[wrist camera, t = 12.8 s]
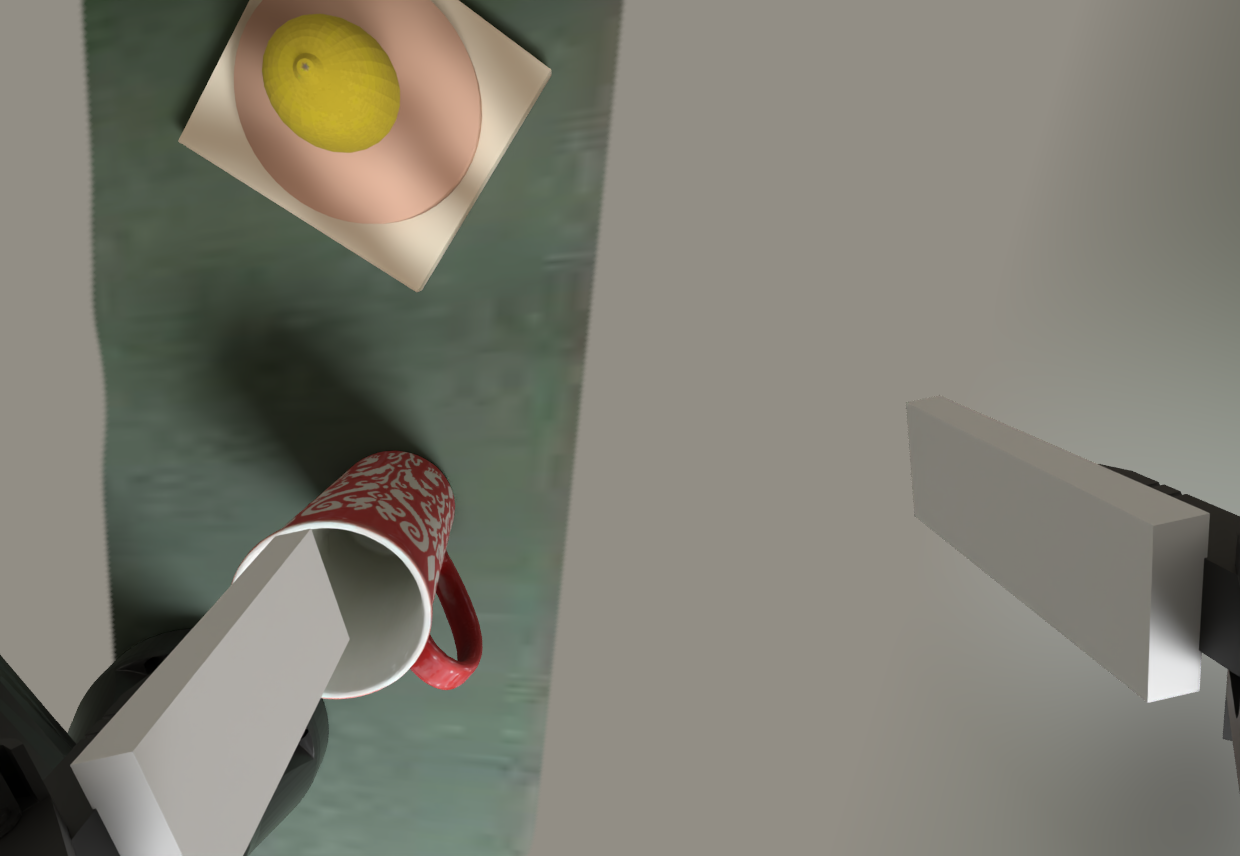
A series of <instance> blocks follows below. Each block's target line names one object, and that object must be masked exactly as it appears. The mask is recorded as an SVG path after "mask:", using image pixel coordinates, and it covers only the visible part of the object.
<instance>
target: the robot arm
mask: <svg viewBox="0 0 1240 856" xmlns="http://www.w3.org/2000/svg"><path fill="white" fill-rule="evenodd" d="M906 409H907V423H908V436H909V449H910V462H911V477H912V489H913V502H914V516H915V517H916V518H918V519H919V520H920V521H921V522H922V523H924V524H925V525H926V526H927V527H929V528H930V529H931V530H932V531H934V532H935V533H936V534H937V535H939V536H940V537H941V538H942V539H944V540H945V541H946V542H948V543H949V544H950V545H951V546H952V547H954V548H955V549H956V550H957V551H959V552H960V553H961V554H963V555H964V556H965V557H966V558H967V559H969V560H970V561H971V562H972V563H974V564H975V565H976V566H977V567H979V568H980V569H981V570H982V571H984V572H985V573H986V574H988V575H989V576H990V577H991V578H992V579H994V580H995V581H996V582H997V583H999V584H1000V585H1001V586H1002V587H1004V588H1005V589H1006V590H1008V591H1009V592H1010V593H1011V594H1013V595H1014V596H1015V597H1016V598H1017V599H1019V600H1020V601H1021V602H1022V603H1024V604H1025V605H1026V606H1027V607H1029V608H1030V609H1031V610H1032V611H1034V612H1035V613H1036V614H1037V615H1039V616H1040V617H1041V618H1042V619H1044V620H1045V621H1046V622H1047V623H1049V624H1050V625H1051V626H1052V627H1054V628H1055V629H1056V630H1057V631H1059V632H1060V633H1061V634H1062V635H1064V636H1065V637H1066V638H1067V639H1069V640H1070V641H1071V642H1072V643H1074V644H1075V645H1076V646H1077V647H1079V648H1080V649H1081V650H1082V651H1084V652H1085V653H1086V654H1087V655H1089V656H1090V657H1091V658H1092V659H1093V660H1095V661H1096V662H1097V663H1098V664H1100V665H1101V666H1102V667H1103V668H1105V669H1106V670H1107V671H1108V672H1110V673H1111V674H1112V675H1113V676H1115V677H1116V678H1117V679H1118V680H1120V681H1121V682H1122V683H1123V684H1125V685H1126V686H1127V687H1128V688H1130V689H1131V690H1132V691H1133V692H1135V693H1136V694H1137V695H1138V696H1140V697H1141V698H1142V699H1143V700H1145V701H1146V702H1153V701H1157V700H1161V699H1166V698H1170V697H1174V696H1179V695H1183V694H1188V693H1192V692H1197V691H1199V690H1200V672H1201V656H1202V653H1204V654H1205V655H1207V656H1208V657H1210V658H1212V659H1213V660H1215V661H1216V662H1218V663H1219V664H1221V665H1222V666H1224V667H1225V668H1227V669H1228V672H1227V687H1226V701H1225V714H1224V729H1223V739H1226V740H1230V741H1233V748H1234V755H1235V762H1236V769H1237V777H1238V784H1239V791H1240V516H1237V515H1235V514H1233V513H1230V512H1228V511H1226V510H1223V509H1221V508H1218V507H1216V506H1214V505H1211V504H1209V503H1207V502H1204V501H1202V500H1200V499H1197V498H1195V497H1192V496H1190V495H1188V494H1184V495H1182V494H1181V492H1180V491H1178V490H1176V489H1173V488H1171V487H1168V486H1166V485H1160V484H1159V482H1157V481H1155V480H1152V479H1150V478H1147V477H1145V476H1143V475H1140V474H1138V473H1136V472H1133V471H1129V470H1124V469H1120V468H1115V467H1110V466H1106V465H1101V464H1096V463H1093V462H1091V461H1089V460H1087V459H1084V458H1082V457H1080V456H1077V455H1075V454H1073V453H1071V452H1068V451H1066V450H1064V449H1062V448H1059V447H1057V446H1055V445H1052V444H1050V443H1048V442H1045V441H1043V440H1041V439H1039V438H1036V437H1034V436H1032V435H1029V434H1027V433H1025V432H1023V431H1020V430H1018V429H1015V428H1013V427H1011V426H1009V425H1006V424H1004V423H1002V422H1000V421H997V420H995V419H993V418H991V417H988V416H986V415H984V414H981V413H979V412H977V411H975V410H972V409H970V408H968V407H965V406H963V405H961V404H958V403H956V402H954V401H952V400H949V399H947V398H945V397H942V396H940V395H939V396H934V397H929V398H924V399H920V400H915V401H911V402H906ZM349 640H350V639H349V636H348V633H347V630H346V627H345V624H344V621H343V618H342V616H341V613H340V610H339V607H338V604H337V601H336V598H335V596H334V593H333V590H332V587H331V584H330V581H329V578H328V575H327V573H326V570H325V567H324V564H323V561H322V558H321V555H320V553H319V550H318V547H317V544H316V541H315V538H314V535H313V532H312V530H311V529H306V530H302V531H297V532H292V533H288V534H283V535H278V536H275V537H274V538H273V539H272V540H271V541H270V543H269V544H268V545H267V546H266V547H265V548H264V549H263V550H262V551H261V553H260V554H259V555H258V556H257V557H256V558H255V559H254V560H253V562H252V563H251V564H250V565H249V566H248V567H247V568H246V569H245V570H244V572H243V573H242V574H241V575H240V576H239V577H238V578H237V579H236V581H235V582H234V583H233V584H232V585H231V586H230V587H229V588H228V589H227V591H226V592H225V593H224V594H223V595H222V596H221V597H220V598H219V600H218V601H217V602H216V603H215V604H214V605H213V606H212V607H211V608H210V610H209V611H208V612H207V613H206V614H205V615H204V616H203V617H202V618H201V620H200V621H199V622H198V623H197V624H196V625H195V626H194V627H193V629H183V630H176V631H171V632H167V633H163V634H160V635H157V636H154V637H151V638H149V639H147V640H145V641H142V642H141V643H139V644H137V645H135V646H134V647H132V648H130V649H129V650H128V651H126V652H125V653H124V654H122V655H121V656H120V657H119V658H118V659H117V660H116V661H115V662H114V663H113V664H112V665H111V666H110V667H109V668H108V669H107V670H106V671H105V672H104V673H103V674H102V675H101V676H100V677H99V678H98V679H97V680H96V681H95V682H94V684H93V685H92V686H91V687H90V689H89V690H88V691H87V693H86V694H85V696H84V698H83V699H82V701H81V703H80V705H79V707H78V709H77V711H76V714H75V716H74V719H73V722H72V723H71V726H70V728H69V731H68V733H67V732H66V731H65V730H64V729H63V728H62V727H61V726H60V724H59V723H58V722H57V721H56V720H55V719H54V717H53V716H52V715H51V714H50V713H49V712H48V711H47V709H46V708H45V707H44V706H43V705H42V703H41V702H40V701H39V700H38V699H37V698H36V696H35V695H34V694H33V693H32V692H31V690H30V689H29V688H28V687H27V686H26V685H25V683H24V682H23V681H22V680H21V679H20V678H19V676H18V675H17V674H16V673H15V672H14V671H13V669H12V668H11V667H10V666H9V665H8V663H6V661H5V660H4V659H3V658H2V656H1V655H0V856H248V855H249V854H250V853H251V852H252V851H253V850H254V849H255V848H256V847H257V846H258V845H259V844H260V843H261V842H262V841H263V840H264V839H265V838H266V837H267V836H268V835H269V834H270V833H271V832H272V831H273V830H274V829H275V828H276V827H277V826H278V825H279V824H280V822H281V821H282V820H283V819H284V818H285V817H286V816H287V815H288V814H289V813H290V812H291V811H292V810H293V809H294V808H295V807H296V806H297V805H298V804H299V802H300V801H301V800H302V798H303V797H304V796H305V794H306V793H307V791H308V790H309V788H310V786H311V784H312V782H313V780H314V778H315V776H316V773H317V771H318V769H319V767H320V764H321V762H322V760H323V757H324V754H325V751H326V748H327V743H328V734H329V727H328V718H327V712H326V709H325V705H324V703H323V700H322V698H321V696H322V694H323V692H324V690H325V688H326V686H327V684H328V682H329V680H330V678H331V676H332V674H333V672H334V670H335V668H336V666H337V664H338V662H339V660H340V658H341V656H342V654H343V652H344V650H345V648H346V646H347V644H348V642H349Z"/></svg>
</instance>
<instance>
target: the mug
mask: <svg viewBox="0 0 1240 856" xmlns="http://www.w3.org/2000/svg"><path fill="white" fill-rule="evenodd" d="M454 512H455V501H454V496H453V492H452V489H451V487H450V484H449V482H448V481H447V479H446V478H445V476H444V475H443V473H442V472H441V471H440V470H439V469H438V468H437V467H436V466H435V465H433V464H432V463H431V462H429V461H428V460H426V459H424V458H422V457H420V456H418V455H415V454H412V453H408V452H402V451H384V452H379V453H375V454H372V455H370V456H368V457H366V458H364V459H362V460H360V461H359V462H357V463H356V464H355V465H353V466H352V467H351V468H350V469H349V470H348V471H347V472H345V473H344V474H343V475H342V476H341V477H340V478H339V479H338V480H336V481H335V482H334V483H333V484H332V485H331V486H329V487H328V488H327V489H326V490H325V491H324V492H323V493H322V494H320V495H319V496H318V497H317V498H316V499H315V500H314V501H312V502H311V503H310V504H309V505H308V506H307V507H306V508H305V509H304V510H302V511H301V512H300V513H299V514H298V515H296V516H295V517H294V518H293V519H292V520H291V521H290V522H288V523H287V524H286V525H285V526H284V527H283V528H282V529H280V530H278V531H276V532H275V533H273V534H271V535H269V536H268V537H266V538H265V539H263V540H262V541H260V542H259V543H258V544H257V545H256V546H255V547H254V548H253V549H252V550H251V551H250V552H249V553H248V554H247V556H246V557H245V558H244V560H243V561H242V562H241V564H240V565H239V567H238V569H237V571H236V573H235V576H234V578H233V581H232V584H233V583H234V582H235V581H236V579H237V578H238V577H239V576H240V575H241V574H242V573H243V572H244V570H245V569H246V568H247V567H248V566H249V565H250V564H251V563H252V562H253V560H254V559H255V558H256V557H257V556H258V555H259V554H260V553H261V551H262V550H263V549H264V548H265V547H266V546H267V545H268V544H269V543H270V541H271V540H272V539H273V538H274V537H275V536H278V535H283V534H288V533H292V532H297V531H302V530H306V529H311V530H312V532H313V535H314V538H315V541H316V544H317V547H318V550H319V553H320V555H321V558H322V561H323V564H324V567H325V570H326V573H327V575H328V578H329V581H330V584H331V587H332V590H333V593H334V596H335V598H336V601H337V604H338V607H339V610H340V613H341V616H342V618H343V621H344V624H345V627H346V630H347V633H348V636H349V639H350V640H349V642H348V644H347V646H346V648H345V650H344V652H343V654H342V656H341V658H340V660H339V662H338V664H337V666H336V668H335V670H334V672H333V674H332V676H331V678H330V680H329V682H328V684H327V686H326V688H325V690H324V692H323V694H322V696H321V698H324V699H347V698H355V697H360V696H364V695H367V694H370V693H373V692H376V691H378V690H380V689H382V688H384V687H386V686H388V685H390V684H392V683H393V682H395V681H396V680H398V679H399V678H400V677H402V676H403V675H404V674H405V673H406V672H407V671H408V670H409V669H411V670H412V671H413V672H414V673H415V674H416V675H417V676H418V677H419V678H420V679H422V680H423V681H424V682H426V683H427V684H429V685H431V686H433V687H435V688H438V689H442V690H450V689H454V688H456V687H458V686H459V685H461V684H463V683H464V682H465V681H466V680H467V679H468V678H469V676H470V675H471V674H472V673H473V672H474V671H475V669H476V668H477V666H478V664H479V662H480V659H481V655H482V636H481V630H480V625H479V622H478V618H477V616H476V613H475V610H474V608H473V605H472V602H471V600H470V597H469V595H468V593H467V590H466V588H465V586H464V584H463V582H462V580H461V578H460V576H459V574H458V572H457V570H456V568H455V566H454V564H453V562H452V560H451V559H450V557H449V555H448V553H447V551H446V546H447V542H448V538H449V534H450V530H451V527H452V523H453V519H454ZM232 584H231V585H232ZM435 593H437V595H438V597H439V600H440V602H441V605H442V607H443V609H444V612H445V614H446V617H447V619H448V622H449V625H450V627H451V630H452V633H453V636H454V640H455V644H456V649H457V659H458V661H456V660H455V659H453V658H451V657H448V656H447V655H446V654H445V653H444V652H443V651H442V650H441V649H440V648H439V647H438V646H437V645H436V643H435V642H434V640H433V639H432V637H431V635H430V631H431V625H432V604H433V601H434V597H435Z"/></svg>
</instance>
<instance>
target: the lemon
mask: <svg viewBox="0 0 1240 856" xmlns="http://www.w3.org/2000/svg"><path fill="white" fill-rule="evenodd" d="M262 75H263V82H264V87H265V90H266V93H267V95H268V98H269V100H270V103H271V105H272V107H273V108H274V110H275V111H276V113H277V114H278V116H279V117H280V119H281V120H282V121H283V123H284V124H285V125H287V126H288V127H289V128H290V129H291V130H292V131H293V132H294V133H295V134H296V135H297V136H298V137H300V138H302V139H303V140H305V141H307V142H309V143H310V144H312V145H314V146H316V147H319V148H322V149H325V150H328V151H331V152H342V153H352V152H357V151H361V150H366V149H368V148H370V147H371V146H373V145H375V144H377V143H379V142H380V141H381V140H382V139H383V138H384V137H385V136H386V135H387V134H388V133H389V132H390V130H391V128H392V127H393V125H394V123H395V121H396V119H397V115H398V111H399V108H400V87H399V82H398V78H397V73H396V71H395V69H394V67H393V65H392V63H391V61H390V58H389V56H388V55H387V53H386V52H385V51H384V50H383V48H382V47H381V46H380V44H379V43H378V42H377V41H376V39H374V38H373V37H372V36H371V35H369V34H368V33H367V32H366V31H364V30H363V29H362V28H361V27H359V26H357V25H355V24H353V23H351V22H349V21H347V20H345V19H343V18H340V17H336V16H331V15H326V14H308V15H302V16H299V17H296V18H294V19H291V20H289V21H287V22H286V23H285V24H283V25H282V26H281V27H279V28H278V29H277V30H276V31H275V33H274V34H273V36H272V37H271V38H270V40H269V41H268V44H267V47H266V49H265V52H264V55H263V64H262Z"/></svg>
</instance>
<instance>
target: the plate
mask: <svg viewBox="0 0 1240 856" xmlns="http://www.w3.org/2000/svg"><path fill="white" fill-rule="evenodd" d="M308 14H326V15H331V16H336V17H340V18H343V19H345V20H347V21H349V22H351V23H353V24H355V25H357V26H359V27H361V28H362V29H363V30H364V31H366V32H367V33H368V34H369V35H371V36H372V37H373V38H374V39H376V41H377V42H378V43H379V44H380V46H381V47H382V48H383V50H384V51H385V52H386V53H387V55H388V56H389V58H390V61H391V63H392V65H393V67H394V69H395V71H396V73H397V78H398V82H399V87H400V108H399V111H398V115H397V119H396V121H395V123H394V125H393V127H392V128H391V130H390V132H389V133H388V134H387V135H386V136H385V137H384V138H383V139H382V140H381V141H380V142H379V143H377V144H375V145H373V146H371V147H370V148H368V149H366V150H361V151H357V152H352V153H342V152H331V151H328V150H325V149H322V148H319V147H316V146H314V145H312V144H310V143H309V142H307V141H305V140H303V139H302V138H300V137H298V136H297V135H296V134H295V133H294V132H293V131H292V130H291V129H290V128H289V127H288V126H287V125H285V124H284V123H283V121H282V120H281V119H280V117H279V116H278V114H277V113H276V111H275V110H274V108H273V107H272V105H271V103H270V100H269V98H268V95H267V93H266V90H265V87H264V82H263V75H262V64H263V55H264V52H265V49H266V47H267V44H268V41H269V40H270V38H271V37H272V36H273V34H274V33H275V31H276V30H277V29H278V28H279V27H281V26H282V25H283V24H285V23H286V22H287V21H289V20H291V19H294V18H296V17H299V16H302V15H308ZM550 77H551V69H549V68H548V67H547V66H545V65H544V64H543V63H541V62H540V61H539V60H537V59H536V58H535V57H533V56H532V55H531V54H529V53H528V52H527V51H525V50H524V49H523V48H521V47H520V46H519V45H517V44H516V43H515V42H513V41H512V40H511V39H509V38H508V37H507V36H505V35H504V34H503V33H501V32H500V31H499V30H497V29H496V28H495V27H493V26H492V25H491V24H489V23H488V22H487V21H485V20H484V19H483V18H481V17H480V16H479V15H477V14H476V13H475V12H473V11H472V10H471V9H469V8H468V7H467V6H465V5H464V4H463V3H461V2H460V1H459V0H249V2H248V4H247V6H246V8H245V10H244V12H243V14H242V16H241V18H240V20H239V22H238V24H237V26H236V28H235V30H234V32H233V34H232V36H231V38H230V40H229V42H228V44H227V46H226V48H225V50H224V52H223V54H222V56H221V58H220V60H219V62H218V64H217V66H216V68H215V69H214V71H213V73H212V75H211V77H210V79H209V81H208V83H207V85H206V87H205V89H204V91H203V93H202V95H201V97H200V99H199V101H198V103H197V105H196V107H195V109H194V111H193V113H192V115H191V117H190V119H189V121H188V123H187V125H186V127H185V129H184V131H183V133H182V135H181V137H180V139H179V142H180V143H182V144H183V145H185V146H187V147H188V148H190V149H191V150H193V151H194V152H196V153H198V154H199V155H201V156H202V157H204V158H206V159H207V160H209V161H210V162H212V163H213V164H215V165H217V166H218V167H220V168H221V169H223V170H224V171H226V172H228V173H229V174H231V175H232V176H234V177H236V178H237V179H239V180H240V181H242V182H243V183H245V184H247V185H248V186H250V187H251V188H253V189H255V190H256V191H258V192H259V193H261V194H262V195H264V196H266V197H267V198H269V199H270V200H272V201H273V202H275V203H277V204H278V205H280V206H281V207H283V208H285V209H286V210H288V211H289V212H291V213H292V214H294V215H296V216H297V217H299V218H300V219H302V220H304V221H305V222H307V223H308V224H310V225H311V226H313V227H315V228H316V229H318V230H319V231H321V232H322V233H324V234H326V235H327V236H329V237H330V238H332V239H334V240H335V241H337V242H338V243H340V244H341V245H343V246H345V247H346V248H348V249H349V250H351V251H353V252H354V253H356V254H357V255H359V256H360V257H362V258H364V259H365V260H367V261H368V262H370V263H372V264H373V265H375V266H376V267H378V268H379V269H381V270H383V271H384V272H386V273H387V274H389V275H390V276H392V277H394V278H395V279H397V280H398V281H400V282H402V283H403V284H405V285H406V286H408V287H409V288H411V289H413V290H414V291H416V292H419V291H421V290H422V289H423V288H424V286H425V284H426V283H427V281H428V279H429V278H430V276H431V274H432V273H433V271H434V269H435V268H436V266H437V264H438V263H439V261H440V259H441V258H442V256H443V254H444V253H445V251H446V249H447V248H448V246H449V244H450V243H451V241H452V239H453V238H454V236H455V234H456V233H457V231H458V229H459V228H460V226H461V224H462V223H463V221H464V219H465V218H466V216H467V215H468V213H469V211H470V210H471V208H472V206H473V205H474V203H475V201H476V200H477V198H478V196H479V195H480V193H481V191H482V190H483V188H484V186H485V185H486V183H487V181H488V180H489V178H490V176H491V175H492V173H493V171H494V170H495V168H496V166H497V165H498V163H499V161H500V160H501V158H502V156H503V155H504V153H505V151H506V150H507V148H508V146H509V145H510V143H511V141H512V140H513V138H514V137H515V135H516V133H517V132H518V130H519V128H520V127H521V125H522V123H523V122H524V120H525V118H526V117H527V115H528V113H529V112H530V110H531V108H532V107H533V105H534V103H535V102H536V100H537V98H538V97H539V95H540V93H541V92H542V90H543V88H544V87H545V85H546V83H547V82H548V80H549V78H550Z"/></svg>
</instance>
